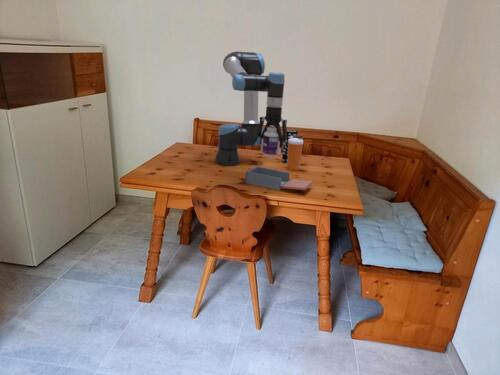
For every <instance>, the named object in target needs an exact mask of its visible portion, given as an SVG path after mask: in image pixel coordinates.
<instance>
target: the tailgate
mask: <svg viewBox="0 0 500 375" xmlns="http://www.w3.org/2000/svg"><path fill="white" fill-rule="evenodd" d="M312 184H314V181H313V180H304V179H303V180H302V179H294V178H293V179H292V178H289V181H287V182H286V183H284V184H283V185H282V186H280V188H282V189H289V190H300V191H306V190H307V189H308V188H310V186H312Z"/></svg>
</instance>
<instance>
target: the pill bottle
mask: <svg viewBox="0 0 500 375" xmlns="http://www.w3.org/2000/svg"><path fill="white" fill-rule="evenodd" d="M276 129H277V128H275V126H269V127H267V131H266V132H265V133H264V141H263V152H262V155H263V156H264V157H267V158H277V157H278V156H279V154H277V148H278V141H280V140H279V137H278V133H277V130H276Z"/></svg>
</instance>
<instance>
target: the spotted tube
mask: <svg viewBox="0 0 500 375" xmlns="http://www.w3.org/2000/svg"><path fill="white" fill-rule="evenodd" d="M298 134H299V131H298V130H296V129H287V140H285V141H283V147H282V156H281V157H282V158H281V162H282V163H284V164H287V162H288V140H289V138H290V136H291V135H294V136H299V135H298Z"/></svg>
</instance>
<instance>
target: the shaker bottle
mask: <svg viewBox="0 0 500 375" xmlns="http://www.w3.org/2000/svg"><path fill="white" fill-rule="evenodd" d="M303 146H304V139H303V136H302V135H298V136H294V135H291V136H290V138H289V140H288V162H287V163H286V165H287V167H286V168H287V170H290V171H298V170H299V169H300V164H301V160H302V159H301V158H302V152H303Z"/></svg>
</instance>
